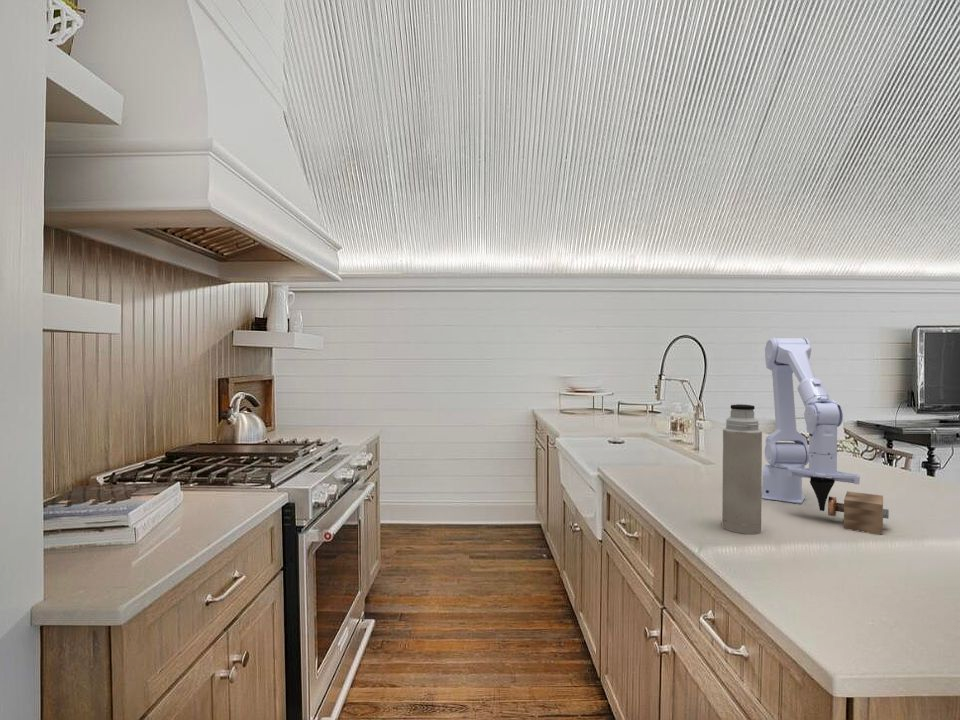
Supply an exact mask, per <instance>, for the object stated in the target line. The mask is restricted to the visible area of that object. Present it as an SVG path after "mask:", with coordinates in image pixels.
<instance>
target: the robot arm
mask: <svg viewBox="0 0 960 720" xmlns="http://www.w3.org/2000/svg"><path fill="white" fill-rule="evenodd" d="M811 353H812V344H811V342H810V340H809V339H808V338H807V337H798V338H797V337H796V338H793V337H787V338H785V337H780V338H778V337H776V338H775V337H769V339H768V340H767V341H766V344H765V348H764V358H765V359H764V360H765V366H766V369H768V370H769V371H771V377H772V387H773V389H772V390H773V402H774V403H773V405H774V406H773V407H774V417H775V430H774V431H773V432H771V433H770V434H768V435H767V436H766V437H765V447H764V457H765V461H766V462H767V463H768V464H764V465H763V468H762V497H761V499H765V500H772V501H778V502H785V503H792V504H799V505H800V504H803V502H804V501H805V499H806V496H804V495H803V494H802V493H803V478H807V479H810V480H809V483H810V486H811V488H812V490H813V492H814V495H815V496H816V499H817V503H818V506H819V511H820V512H821V511H822V512H824V511H825V509H826V503H827V501H828V498H829V494H830V492H831V490H832V487H833V486H834V484H835V483H836V482H839V483H840V482H842V483H848V484H854V485H860V483H861V481H860V478H861V476H860V474H857V473H856V474H855V473H849V472H842V471H838V428H839V427H840V426H841V425H842V423H843V420H844V418H843V417H844V411H843V409H842V406H841V404H840V403H839V402H837V401H835V399H831V397H830V395H829V393H828V391H827V389H826V387H825V385H824V382H823V381H822V380H821V379H819V378H816V377H815V373H814V370H813V367H812V364H811V362H810V361H811V360H810V358H811ZM793 374H794V376H795V378H797V380H798V383H799V384H798V385H797V391H798V394H799V396H800V399H801V401H802V403H803V405H804V407H805V409H804V413H803V415H804V422H805V425H806V432H807V433H808V440H807V437H806V436H804V435H803V434H802V433H800V432H799V431H798V430H797V421H796V420H797V419H796V418H797V417H796V407H795V395H794V394H795V393H794V380H793ZM778 441H779V442H778ZM807 465H808V468H807V467H806V466H807Z"/></svg>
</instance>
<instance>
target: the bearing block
mask: <svg viewBox="0 0 960 720" xmlns="http://www.w3.org/2000/svg"><path fill="white" fill-rule="evenodd" d="M843 504H844V512H843V529H844V528H845V529H844V530H848V529H852V530H851V531H855V530H859V531H858V532H861V531H864V532H863V533H867V532H869V533H868V534H874V535H875V534H876V535H883V529H882V528H884V527H883V526H884V518H882V509H884V495H881V494H880V495H879V494H872V493H871V494H870V493H863V492H855V491H848V490H847V491H846V493H845V496H844V498H843Z"/></svg>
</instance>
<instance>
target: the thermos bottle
mask: <svg viewBox="0 0 960 720" xmlns="http://www.w3.org/2000/svg"><path fill="white" fill-rule="evenodd" d="M755 409H756V408H755V405H751V404H738V403H737V404H731V405H730V416H729V417H728V418H726V420H725V421H726V422H725V427H723V429H722V502H721V503H722V507H721V508H722V511H721V513H722V516H721V517H722V519H721V520H722V521H721V522H722V523H721V524H722V528H723V529H724V530H727V531H729V532H732V533H736V534H737V533H738V534H743V535H745V534H746V535H755V534H759V533H761V532H762V476H763V468H762V466H763V462H762V461H763V458H762V457H763V455H762V454H763V450H762V448H763V431H762V429H761V430H760V429H759V425H760V423H759V420H758V419H757V418H756V417H755V412H754V410H755Z"/></svg>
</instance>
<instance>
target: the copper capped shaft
mask: <svg viewBox="0 0 960 720" xmlns="http://www.w3.org/2000/svg"><path fill="white" fill-rule="evenodd" d="M837 512H840V513H844V502H843V503H841V502H837V497H836V496H830V495H828V497H827V515H828V516H831V517H836V516H837ZM889 516H890V515H889V509H886V508H883V509H882V518H883V519H889Z"/></svg>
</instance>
